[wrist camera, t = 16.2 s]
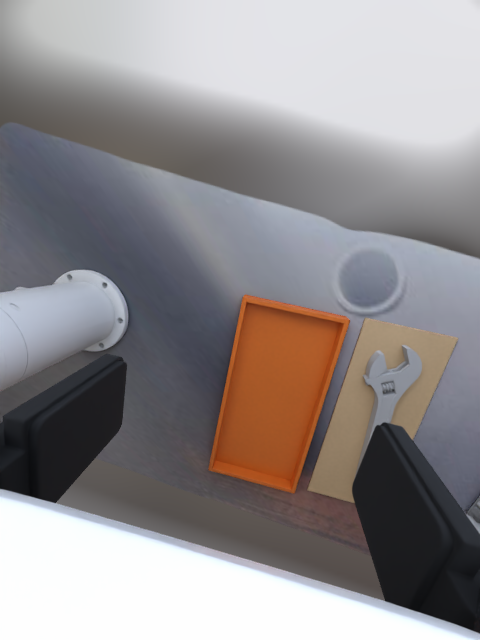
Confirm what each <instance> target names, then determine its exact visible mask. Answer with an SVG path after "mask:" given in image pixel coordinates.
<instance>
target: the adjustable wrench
mask: <svg viewBox="0 0 480 640" xmlns="http://www.w3.org/2000/svg"><path fill="white" fill-rule="evenodd" d="M402 349H403V354H404V359H405V361H404V362H402V363H401V364H400V365H399V366H397V367H396V368H392V369H388V370H387V366H386V362H385V357H384V354H383V353H382V352H381V351H380V350H378V351H376V352H375V353H374V354H373V355H372V356H371V358H370V359H369V361H368V364H367V368H366V374H365V375H363V377H364V379H365V384H366V385H371V386H372V388H373V390H374V394H375V399H374V405H373V408H372V412H371V416H370V420H369V424H368V428H367V432H366V436H365V440H364V444H363V447H362V451H361V455H360V459H359V463H358V467H357V471H356V474H357V472H358V469H359V467H360V464H361V462H362V459H363V457H364V454H365V452H366V449H367V446H368V444H369V441H370V439H371V436H372V434H373V431H374V429H375V427H376V426H377V425H381V424H382V423H383V422H386V423H391V419H392V415H393V411H394V407H395V405H396V403H397V401H398V400H399V399H400V397H401V396H402V395H403V393H404V392H405V391H406V390H407V389H408V388H409V387H410V386H411V385H412V384H413V383H414V382H415V380H416V379H417V378H418V377H419V375H420V373H421V371H422V362H421V359H420V357H419V356H418V354H417V353H416V352H415V351H413V350H412V349H411V348H409V347H408V346H407V345H402ZM355 477H356V475H355Z"/></svg>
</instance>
